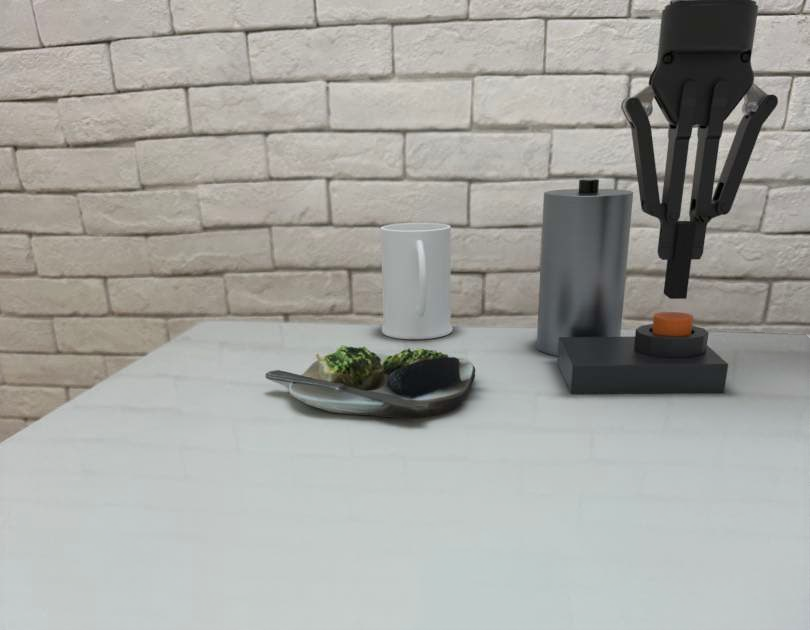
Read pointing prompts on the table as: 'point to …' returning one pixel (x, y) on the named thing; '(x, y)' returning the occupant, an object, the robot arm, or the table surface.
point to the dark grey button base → (642, 363)
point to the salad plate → (382, 382)
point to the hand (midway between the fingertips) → (674, 295)
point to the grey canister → (582, 263)
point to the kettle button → (672, 324)
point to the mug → (416, 280)
